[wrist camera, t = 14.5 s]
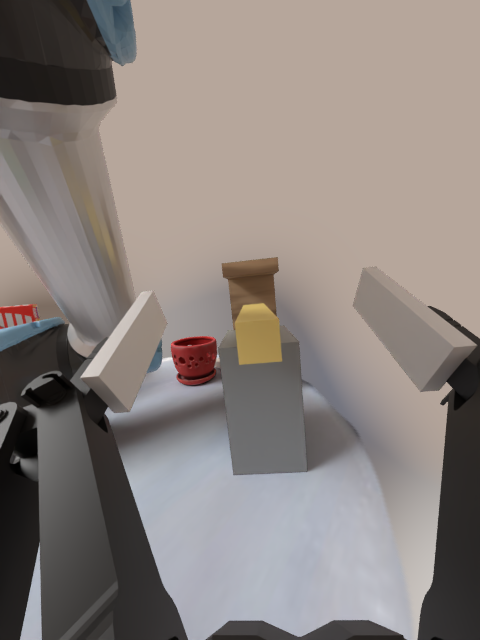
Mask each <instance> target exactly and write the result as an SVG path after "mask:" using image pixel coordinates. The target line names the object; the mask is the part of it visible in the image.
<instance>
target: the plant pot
mask: <svg viewBox="0 0 480 640" xmlns="http://www.w3.org/2000/svg"><path fill="white" fill-rule="evenodd" d="M188 345H192V346H188ZM171 352H172V358H173V361H174V364H175V367H176V369H177V371H178V372H179V373H178V374H177V380H178V381H179V382H180V383H182V384H186V385H197V384H201V383H204V382H207V381H209V380H210V379H212V378H213V377H214V375H215V374H216V369H215V368H214V366H215V363H216V357H217V345H216V339H215V338H213V337H207V336H202V337H201V336H200V337H189V338H184V339H180V340H177V341H174V342H172V343H171Z"/></svg>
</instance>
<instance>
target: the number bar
mask: <svg viewBox="0 0 480 640" xmlns="http://www.w3.org/2000/svg"><path fill="white" fill-rule="evenodd" d="M235 330H236V340H237V349H238V358H239V365H244V364H257V363H269V362H282V353H281V340H280V327H279V318H278V317H277V316H276V315H275V314H274V313H273V312H272V311H271V310H270V309H269V308H268V307H267V306H266V305H265V304H264V303H260V304H249V305H243V307H242V309H241V311H240V313H239V315H238V317H237V319H236V321H235Z"/></svg>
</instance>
